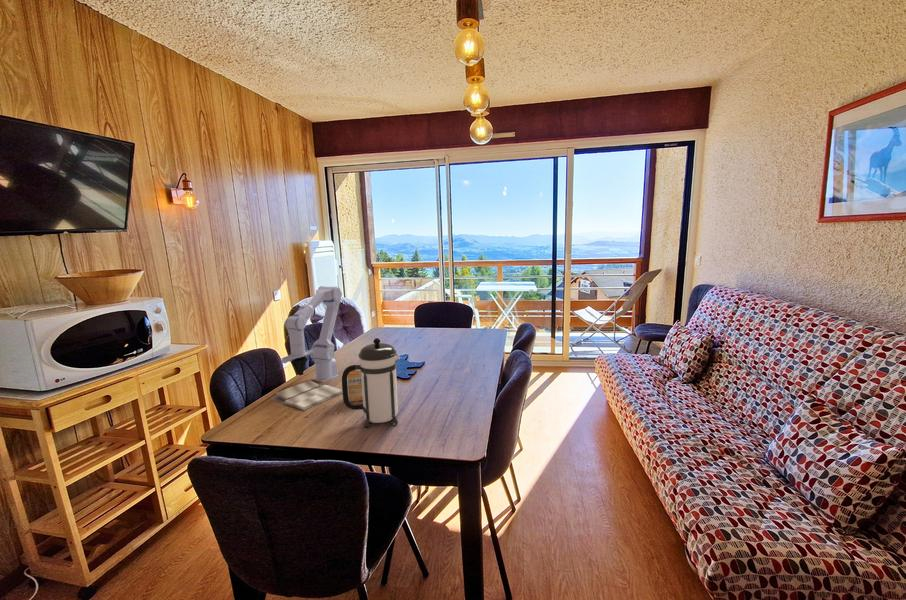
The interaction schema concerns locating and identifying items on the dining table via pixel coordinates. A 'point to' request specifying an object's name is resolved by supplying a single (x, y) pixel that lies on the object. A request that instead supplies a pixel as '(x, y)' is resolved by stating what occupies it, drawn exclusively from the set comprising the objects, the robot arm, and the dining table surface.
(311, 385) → the loose plank
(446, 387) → the dining table surface
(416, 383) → the dining table surface
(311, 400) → the floor panel
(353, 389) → the supplement box
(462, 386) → the dining table surface
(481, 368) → the dining table surface
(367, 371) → the coffee press
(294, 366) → the robot arm
